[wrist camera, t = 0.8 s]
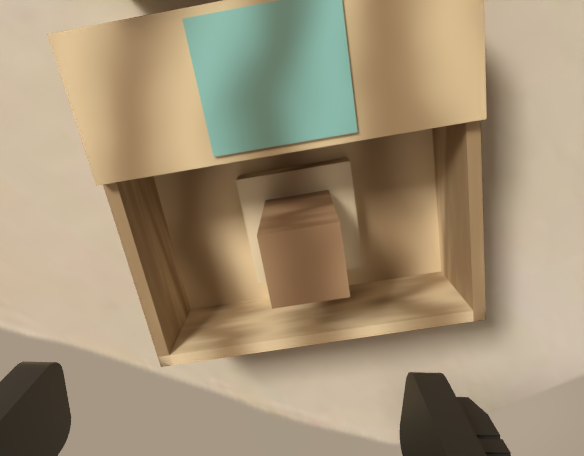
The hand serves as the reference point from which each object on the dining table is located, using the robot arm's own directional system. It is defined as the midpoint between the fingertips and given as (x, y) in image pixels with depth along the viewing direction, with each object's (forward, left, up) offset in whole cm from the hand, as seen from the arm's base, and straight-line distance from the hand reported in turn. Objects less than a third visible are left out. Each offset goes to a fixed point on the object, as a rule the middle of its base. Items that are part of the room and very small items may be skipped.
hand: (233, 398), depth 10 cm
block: (-2, +3, -21) cm, 21 cm away
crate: (-2, -1, -23) cm, 23 cm away
